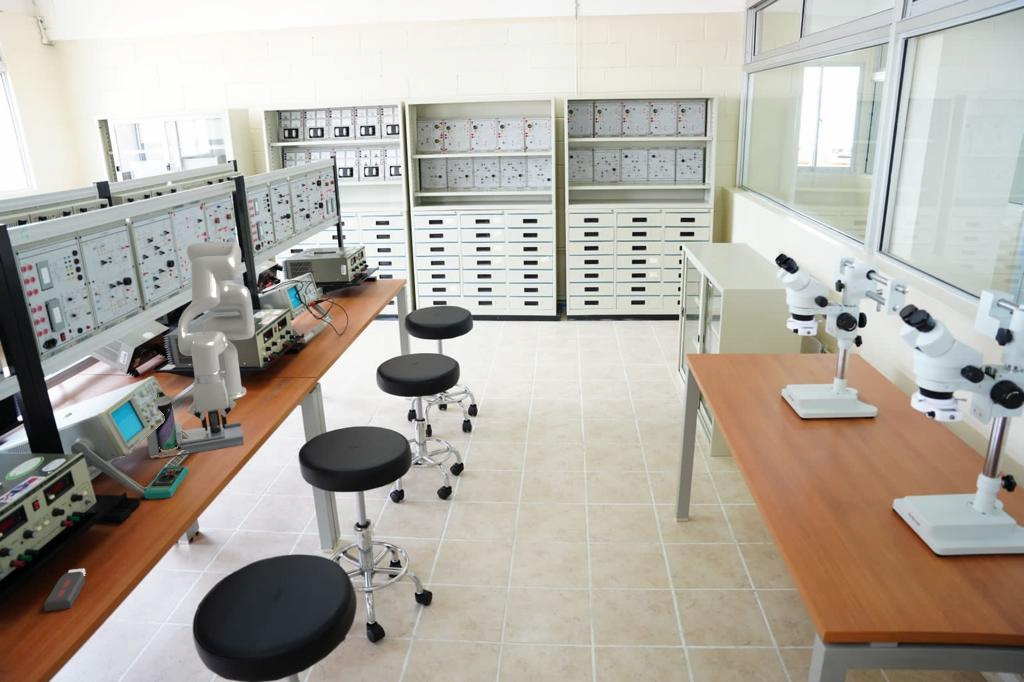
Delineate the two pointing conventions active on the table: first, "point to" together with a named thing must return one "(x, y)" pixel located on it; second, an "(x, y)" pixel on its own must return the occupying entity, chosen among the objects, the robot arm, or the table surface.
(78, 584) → the usb drive
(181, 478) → the digital multimeter
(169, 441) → the spray can
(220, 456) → the table surface
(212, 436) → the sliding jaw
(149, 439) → the vise frame
